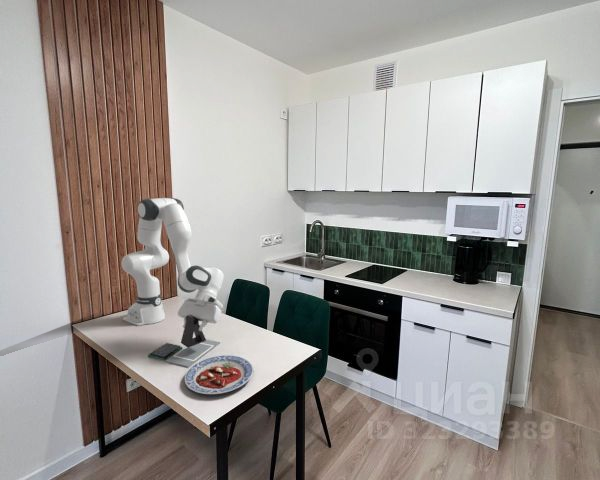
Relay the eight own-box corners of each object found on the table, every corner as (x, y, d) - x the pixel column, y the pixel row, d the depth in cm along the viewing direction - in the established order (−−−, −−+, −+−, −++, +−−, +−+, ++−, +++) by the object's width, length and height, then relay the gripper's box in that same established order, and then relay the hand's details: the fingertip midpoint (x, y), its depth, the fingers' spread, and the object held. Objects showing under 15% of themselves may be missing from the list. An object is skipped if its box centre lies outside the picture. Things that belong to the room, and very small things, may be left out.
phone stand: (187, 347, 141) (185, 321, 139) (180, 343, 145) (178, 317, 143) (206, 340, 147) (204, 315, 145) (199, 336, 151) (197, 311, 149)
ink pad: (148, 356, 143) (147, 353, 143) (166, 345, 153) (166, 342, 153) (164, 360, 140) (164, 357, 139) (182, 348, 150) (182, 345, 150)
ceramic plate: (220, 408, 111) (219, 400, 110) (170, 384, 124) (169, 377, 123) (266, 371, 132) (266, 364, 132) (219, 354, 145) (219, 348, 145)
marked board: (165, 361, 139) (165, 360, 139) (199, 339, 159) (198, 337, 159) (188, 367, 135) (188, 366, 134) (219, 343, 155) (219, 341, 155)
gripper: (182, 294, 153) (169, 323, 146) (219, 300, 146) (207, 330, 138) (189, 300, 158) (176, 328, 150) (226, 306, 150) (214, 335, 143)
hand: (191, 329), depth 144 cm, fingers closed on phone stand, 6 cm apart
